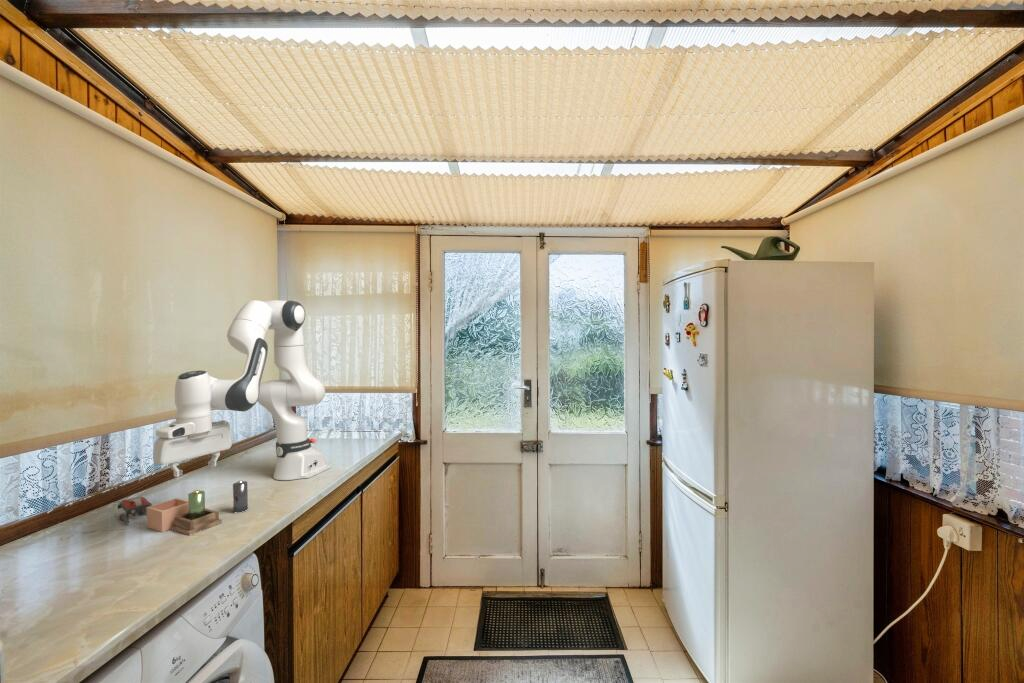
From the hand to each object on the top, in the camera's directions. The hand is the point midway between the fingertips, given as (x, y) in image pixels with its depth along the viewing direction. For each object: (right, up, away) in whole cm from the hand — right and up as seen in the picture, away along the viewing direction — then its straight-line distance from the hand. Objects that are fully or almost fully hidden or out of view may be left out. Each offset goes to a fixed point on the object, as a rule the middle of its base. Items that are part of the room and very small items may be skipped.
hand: (195, 471), depth 133 cm
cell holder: (0, -17, 0) cm, 17 cm away
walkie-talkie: (-27, -17, +10) cm, 34 cm away
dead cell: (+6, -16, +12) cm, 21 cm away
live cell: (0, -16, 0) cm, 16 cm away
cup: (-9, -17, +2) cm, 19 cm away
